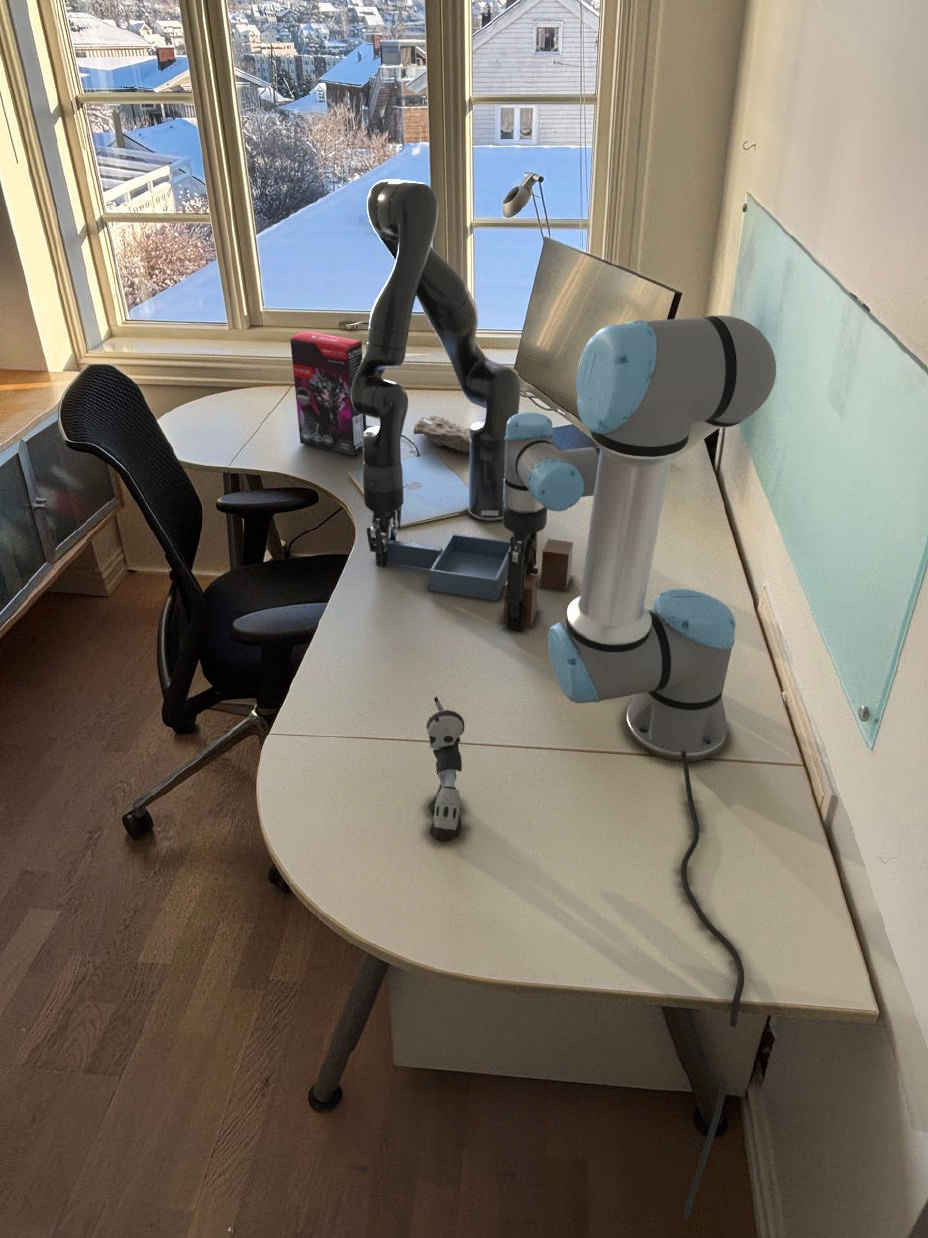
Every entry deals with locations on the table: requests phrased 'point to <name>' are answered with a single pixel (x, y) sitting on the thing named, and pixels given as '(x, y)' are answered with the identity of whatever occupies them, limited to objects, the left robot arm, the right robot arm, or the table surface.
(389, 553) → the tray
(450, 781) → the robot
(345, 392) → the graphics card box
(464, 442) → the stone
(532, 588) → the walnut block
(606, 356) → the right robot arm
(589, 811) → the table surface
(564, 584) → the walnut block
